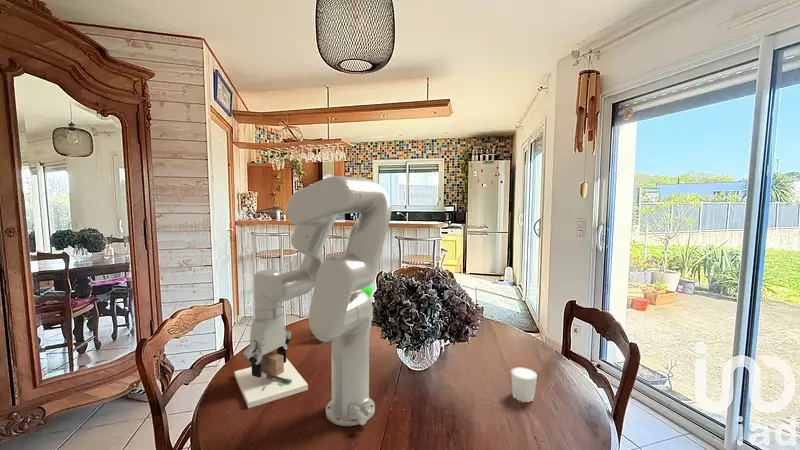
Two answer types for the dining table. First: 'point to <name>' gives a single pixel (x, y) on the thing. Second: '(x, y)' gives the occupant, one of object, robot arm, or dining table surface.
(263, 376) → the board
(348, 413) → the robot arm
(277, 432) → the dining table surface
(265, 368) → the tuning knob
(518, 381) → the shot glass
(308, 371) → the dining table surface
